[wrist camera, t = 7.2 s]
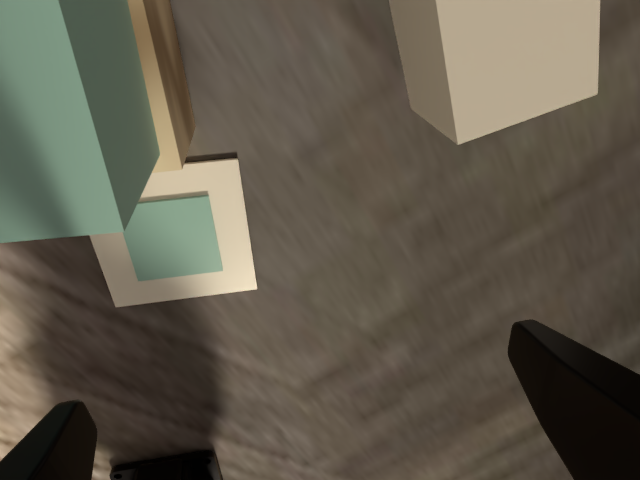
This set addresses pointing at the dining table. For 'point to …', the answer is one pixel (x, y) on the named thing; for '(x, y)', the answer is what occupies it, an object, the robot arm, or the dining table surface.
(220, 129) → the dining table surface
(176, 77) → the maple block
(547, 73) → the beige block
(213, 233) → the card
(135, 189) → the teal block
